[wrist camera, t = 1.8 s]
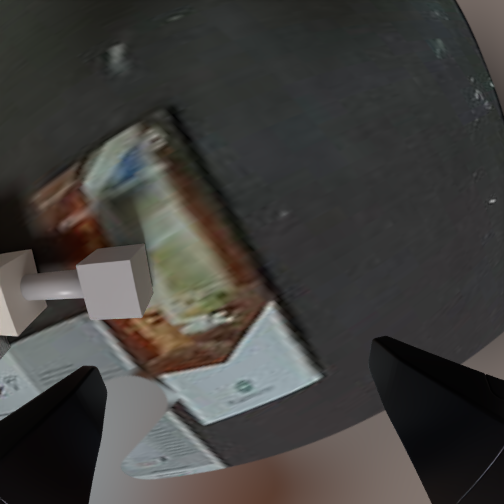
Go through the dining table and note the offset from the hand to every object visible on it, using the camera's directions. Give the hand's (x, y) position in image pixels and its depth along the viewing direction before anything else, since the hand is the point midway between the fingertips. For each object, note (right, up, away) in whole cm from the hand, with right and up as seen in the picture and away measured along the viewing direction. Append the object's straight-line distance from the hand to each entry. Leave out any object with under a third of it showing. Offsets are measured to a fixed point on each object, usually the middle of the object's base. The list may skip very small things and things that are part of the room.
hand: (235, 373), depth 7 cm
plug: (-13, +1, +8) cm, 16 cm away
